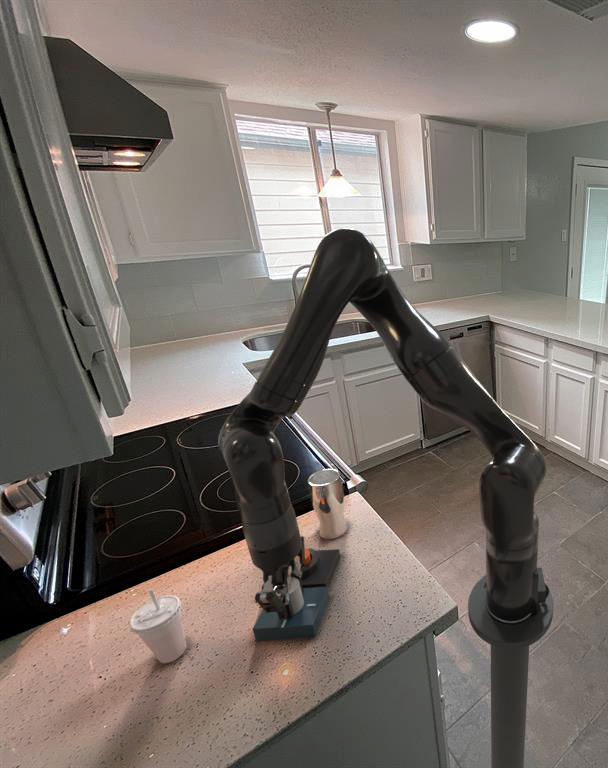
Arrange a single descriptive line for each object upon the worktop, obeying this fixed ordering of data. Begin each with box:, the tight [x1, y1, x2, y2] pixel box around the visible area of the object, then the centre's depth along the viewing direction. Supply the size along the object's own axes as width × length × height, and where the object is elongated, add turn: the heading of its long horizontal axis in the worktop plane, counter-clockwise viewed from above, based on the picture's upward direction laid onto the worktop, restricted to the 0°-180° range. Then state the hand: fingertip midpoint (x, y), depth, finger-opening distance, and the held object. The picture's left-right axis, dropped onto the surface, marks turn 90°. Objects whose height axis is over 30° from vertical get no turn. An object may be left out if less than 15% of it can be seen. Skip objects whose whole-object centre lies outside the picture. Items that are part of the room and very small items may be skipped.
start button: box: [298, 548, 311, 566], centre depth 83 cm, size 4×4×2 cm
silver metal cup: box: [307, 468, 349, 540], centre depth 94 cm, size 7×7×15 cm
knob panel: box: [252, 587, 331, 642], centre depth 75 cm, size 10×8×3 cm
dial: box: [277, 577, 304, 615], centre depth 73 cm, size 4×4×5 cm
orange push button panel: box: [261, 547, 342, 592], centre depth 84 cm, size 12×9×4 cm
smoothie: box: [128, 587, 187, 664], centre depth 67 cm, size 6×6×14 cm
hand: (292, 604), depth 74 cm, fingers closed on dial, 4 cm apart
